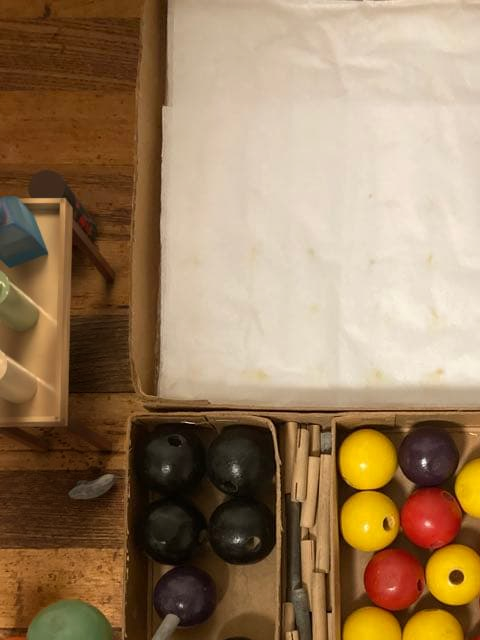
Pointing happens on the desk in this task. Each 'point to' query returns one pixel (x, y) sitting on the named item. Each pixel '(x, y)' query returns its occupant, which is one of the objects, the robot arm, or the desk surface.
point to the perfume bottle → (18, 233)
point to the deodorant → (56, 187)
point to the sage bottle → (16, 306)
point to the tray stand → (48, 326)
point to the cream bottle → (15, 381)
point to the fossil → (92, 487)
